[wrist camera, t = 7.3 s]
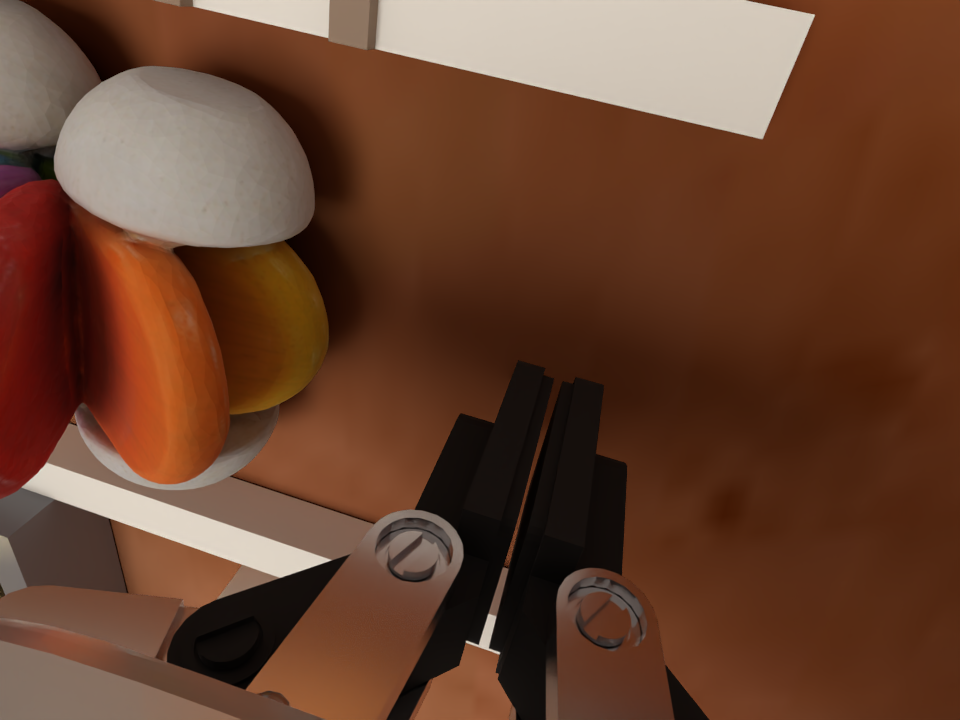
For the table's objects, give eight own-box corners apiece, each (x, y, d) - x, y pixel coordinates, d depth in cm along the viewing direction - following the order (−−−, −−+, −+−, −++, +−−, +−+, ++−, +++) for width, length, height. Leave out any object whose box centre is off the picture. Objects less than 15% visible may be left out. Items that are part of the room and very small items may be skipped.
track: (791, 13, 9) (836, 15, 6) (546, 618, 17) (531, 705, 15) (-639, -285, 12) (-918, -347, 10) (-258, 346, 20) (-365, 385, 18)
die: (362, 574, 18) (288, 719, 14) (383, 655, 20) (323, 801, 16) (248, 556, 19) (151, 687, 15) (278, 635, 21) (200, 768, 17)
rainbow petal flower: (330, 446, 16) (125, 725, 10) (4, 309, 16) (-389, 491, 10) (400, 125, 11) (83, 272, 5) (-63, -57, 11) (-881, -130, 5)
